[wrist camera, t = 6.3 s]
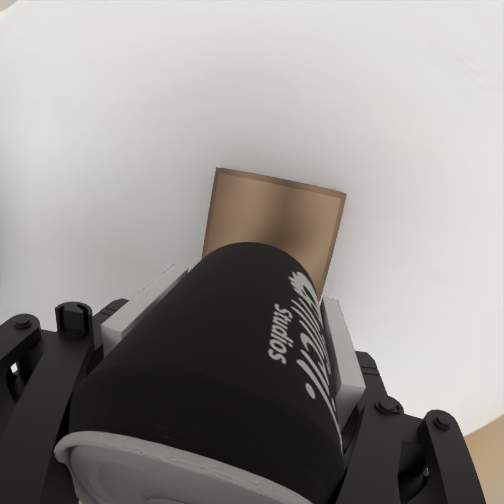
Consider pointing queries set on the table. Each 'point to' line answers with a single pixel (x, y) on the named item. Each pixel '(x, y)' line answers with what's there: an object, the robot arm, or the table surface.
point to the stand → (275, 218)
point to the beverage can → (214, 394)
